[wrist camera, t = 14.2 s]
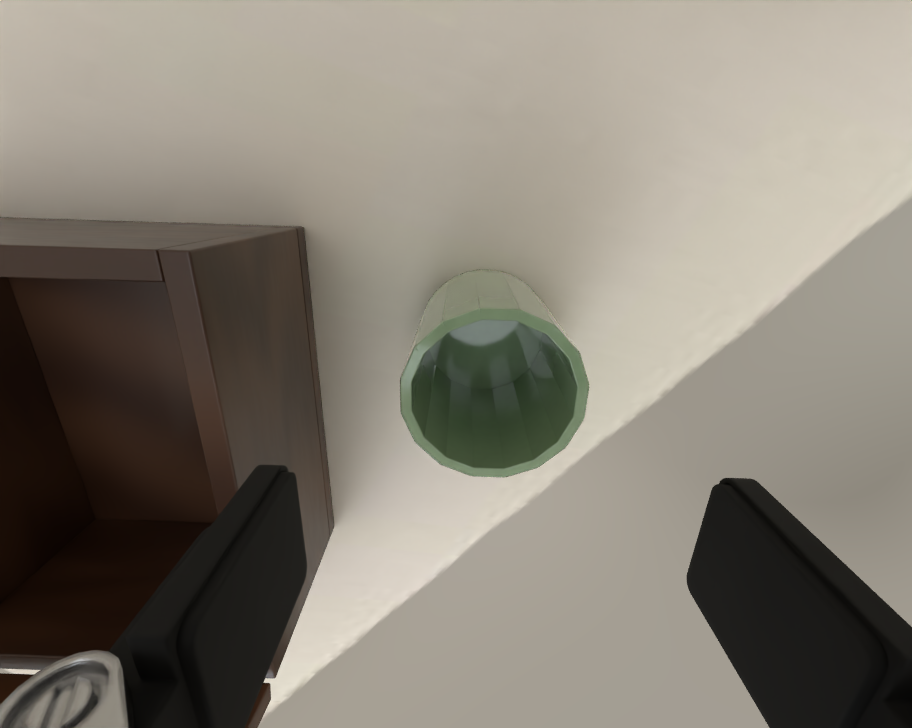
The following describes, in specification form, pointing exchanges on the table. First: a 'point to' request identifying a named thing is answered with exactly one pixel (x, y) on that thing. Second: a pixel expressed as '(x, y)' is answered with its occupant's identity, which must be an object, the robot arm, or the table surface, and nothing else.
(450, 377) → the cup
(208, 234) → the chest
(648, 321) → the table surface
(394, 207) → the table surface
